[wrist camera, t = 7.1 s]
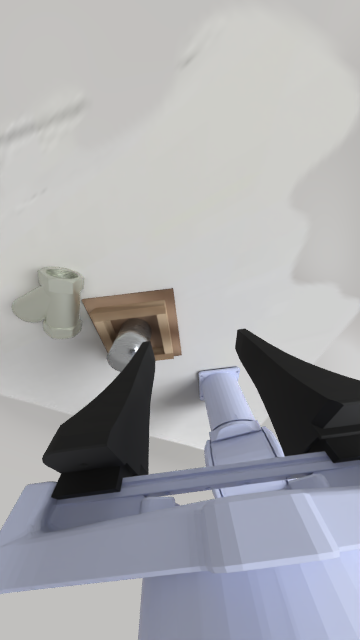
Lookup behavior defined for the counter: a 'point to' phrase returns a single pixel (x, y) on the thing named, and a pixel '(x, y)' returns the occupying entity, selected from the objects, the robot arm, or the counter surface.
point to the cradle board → (141, 305)
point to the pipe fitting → (53, 302)
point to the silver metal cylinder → (128, 342)
